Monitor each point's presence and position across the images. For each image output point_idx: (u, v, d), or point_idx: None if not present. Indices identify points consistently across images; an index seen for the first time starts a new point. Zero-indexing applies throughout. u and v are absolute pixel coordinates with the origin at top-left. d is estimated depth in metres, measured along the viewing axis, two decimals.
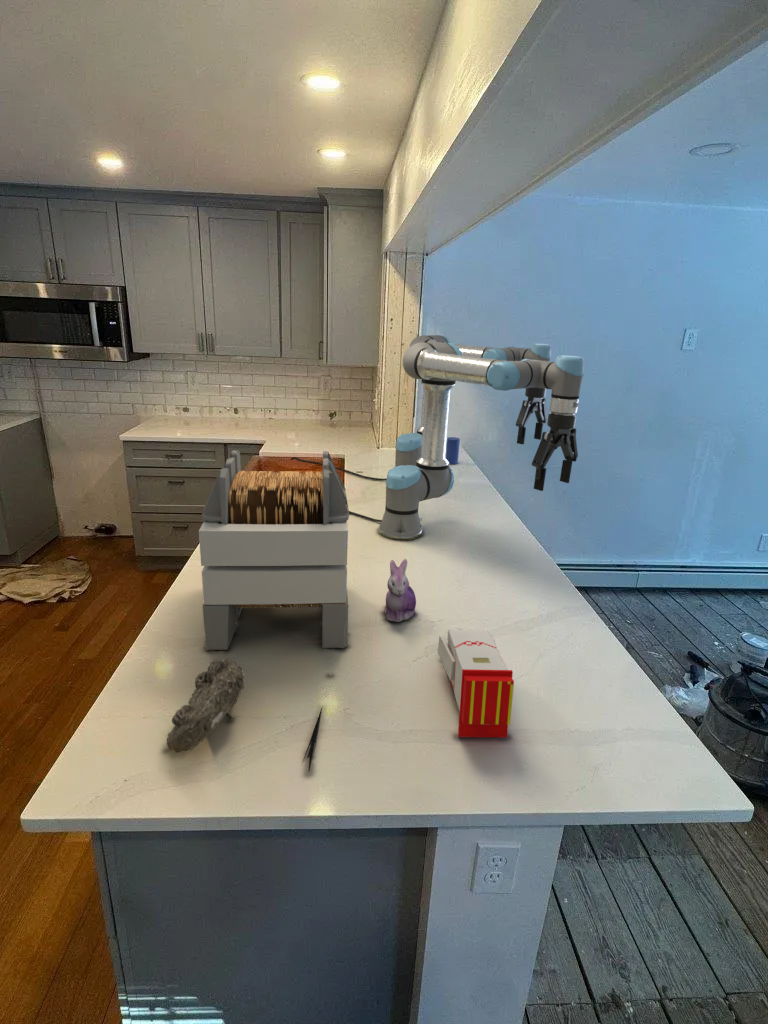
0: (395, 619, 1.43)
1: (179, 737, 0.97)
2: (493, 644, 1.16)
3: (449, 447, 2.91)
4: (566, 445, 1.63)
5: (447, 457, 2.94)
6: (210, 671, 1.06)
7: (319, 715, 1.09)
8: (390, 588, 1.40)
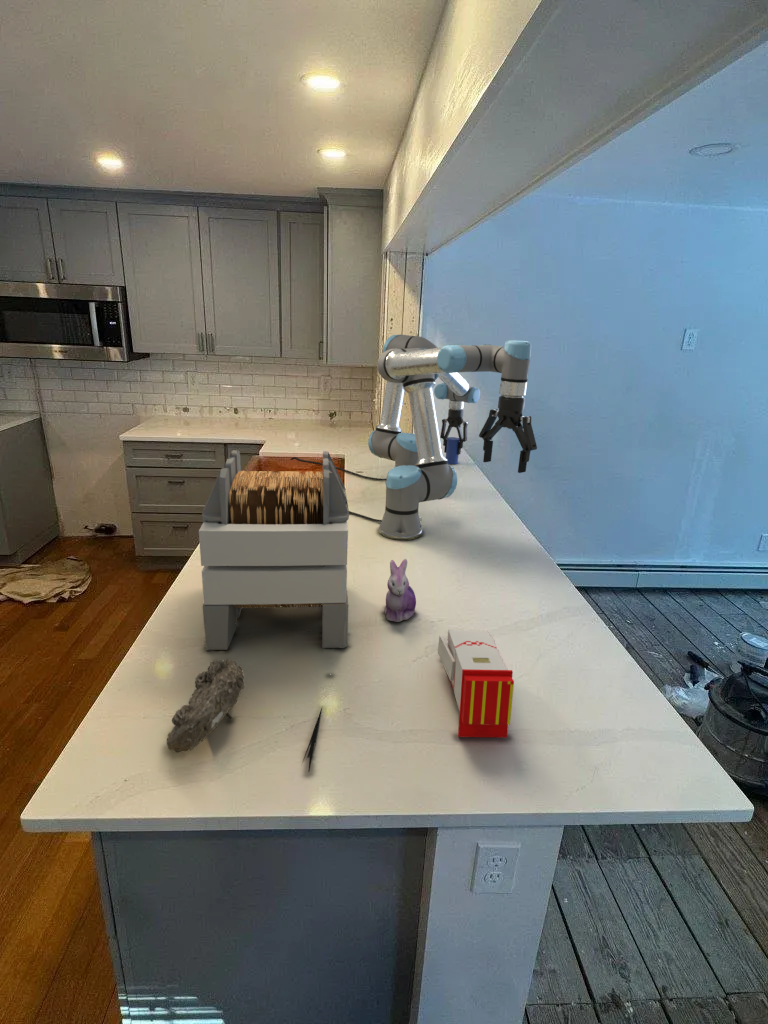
0: (395, 619, 1.43)
1: (179, 737, 0.97)
2: (493, 644, 1.16)
3: (449, 447, 2.91)
4: None
5: (447, 457, 2.94)
6: (210, 671, 1.06)
7: (319, 715, 1.09)
8: (390, 588, 1.40)
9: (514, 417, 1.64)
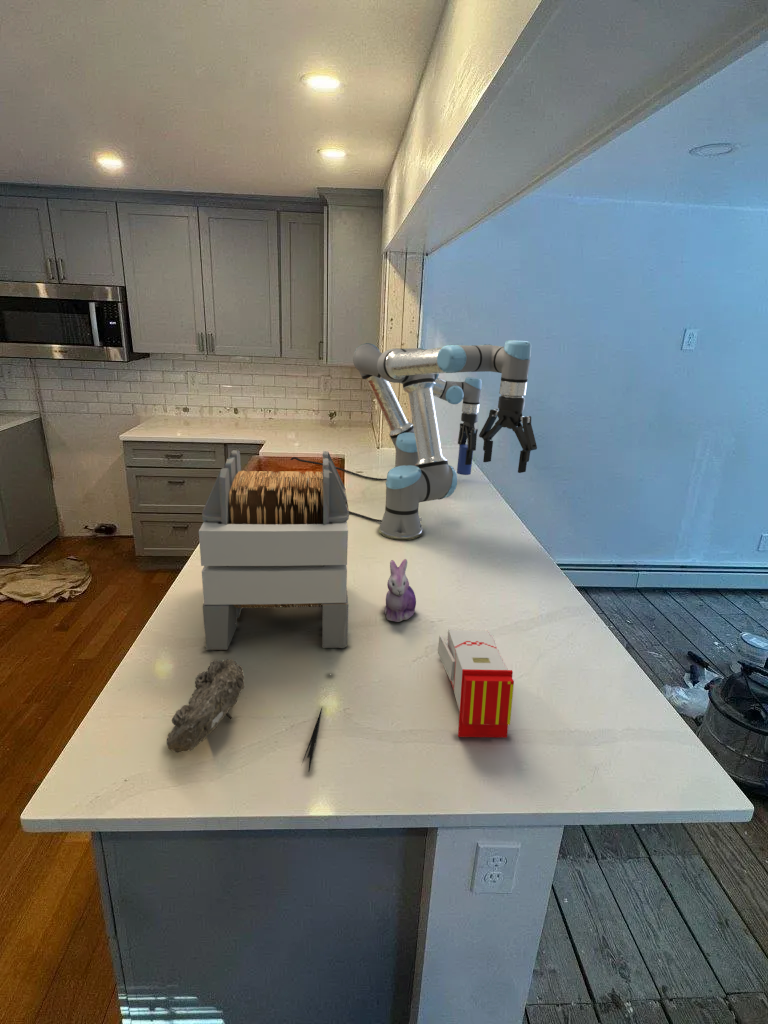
0: (395, 619, 1.43)
1: (179, 737, 0.97)
2: (493, 644, 1.16)
3: None
4: None
5: (457, 465, 2.64)
6: (210, 671, 1.06)
7: (319, 715, 1.09)
8: (390, 588, 1.40)
9: (514, 417, 1.64)
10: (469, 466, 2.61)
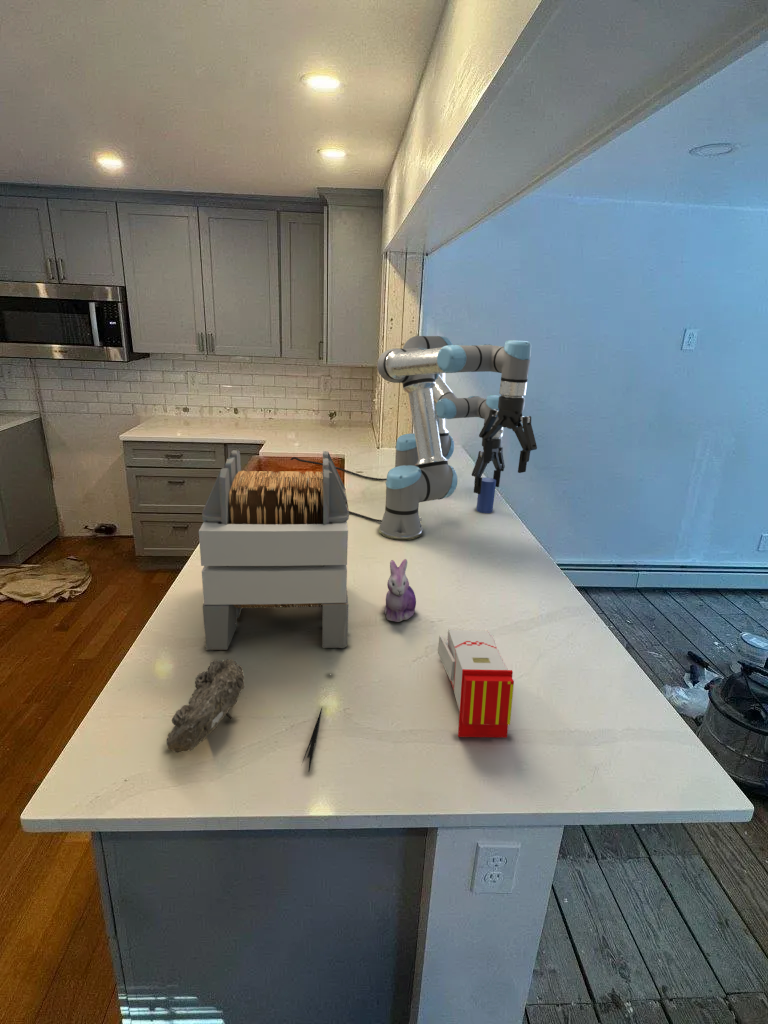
0: (395, 619, 1.43)
1: (179, 737, 0.97)
2: (493, 644, 1.16)
3: None
4: None
5: None
6: (210, 671, 1.06)
7: (319, 715, 1.09)
8: (390, 588, 1.40)
9: (514, 417, 1.64)
10: (483, 503, 2.23)
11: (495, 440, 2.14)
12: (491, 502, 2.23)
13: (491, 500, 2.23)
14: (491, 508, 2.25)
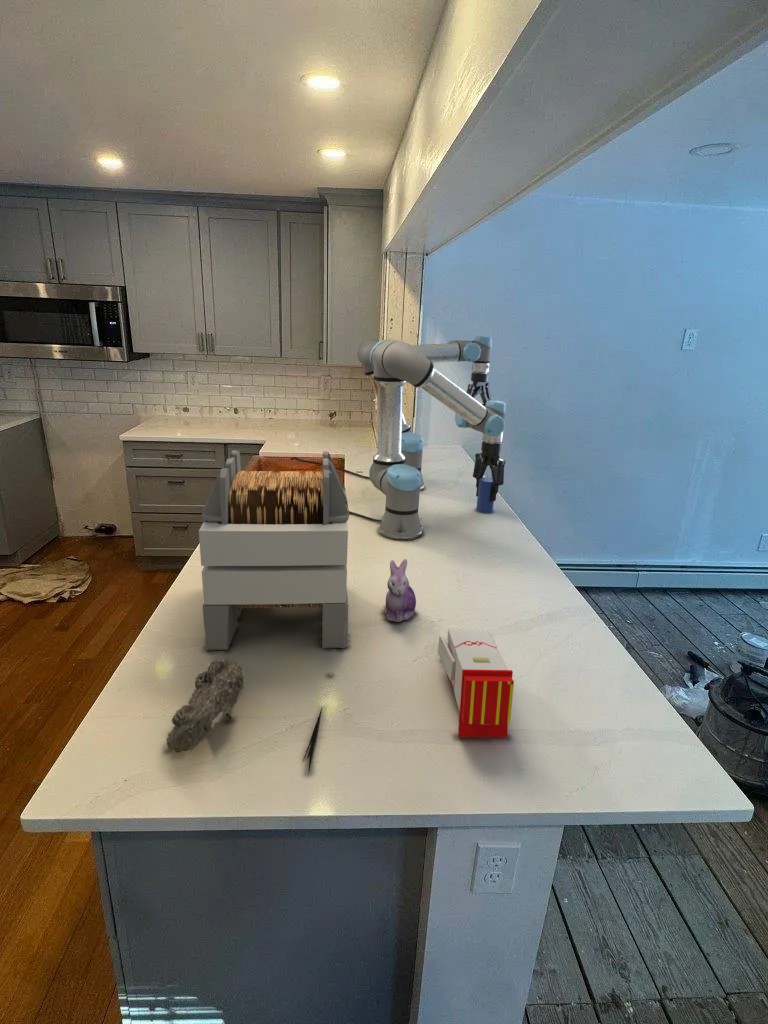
0: (395, 619, 1.43)
1: (179, 737, 0.97)
2: (493, 644, 1.16)
3: None
4: (487, 464, 2.23)
5: None
6: (210, 671, 1.06)
7: (319, 715, 1.09)
8: (390, 588, 1.40)
9: (493, 457, 2.17)
10: (483, 503, 2.23)
11: (482, 374, 2.51)
12: (491, 502, 2.23)
13: None
14: (491, 508, 2.25)
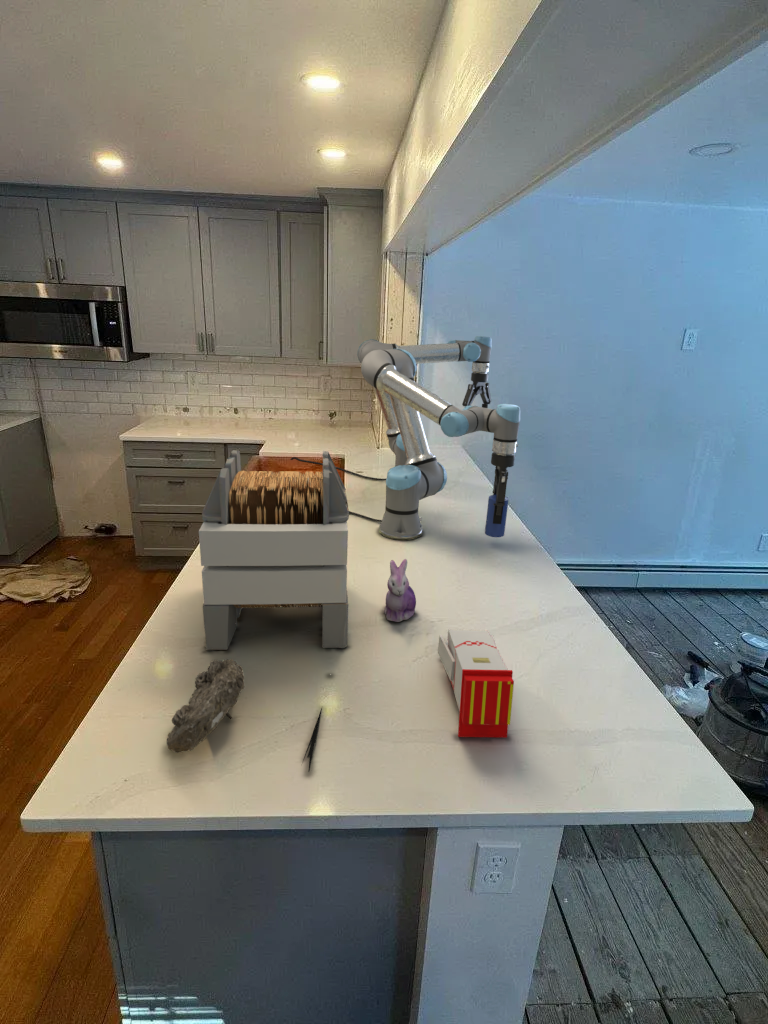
0: (395, 619, 1.43)
1: (179, 737, 0.97)
2: (493, 644, 1.16)
3: None
4: None
5: None
6: (210, 671, 1.06)
7: (319, 715, 1.09)
8: (390, 588, 1.40)
9: (499, 471, 1.83)
10: (487, 523, 1.90)
11: (482, 374, 2.51)
12: (496, 525, 1.88)
13: None
14: (496, 532, 1.89)
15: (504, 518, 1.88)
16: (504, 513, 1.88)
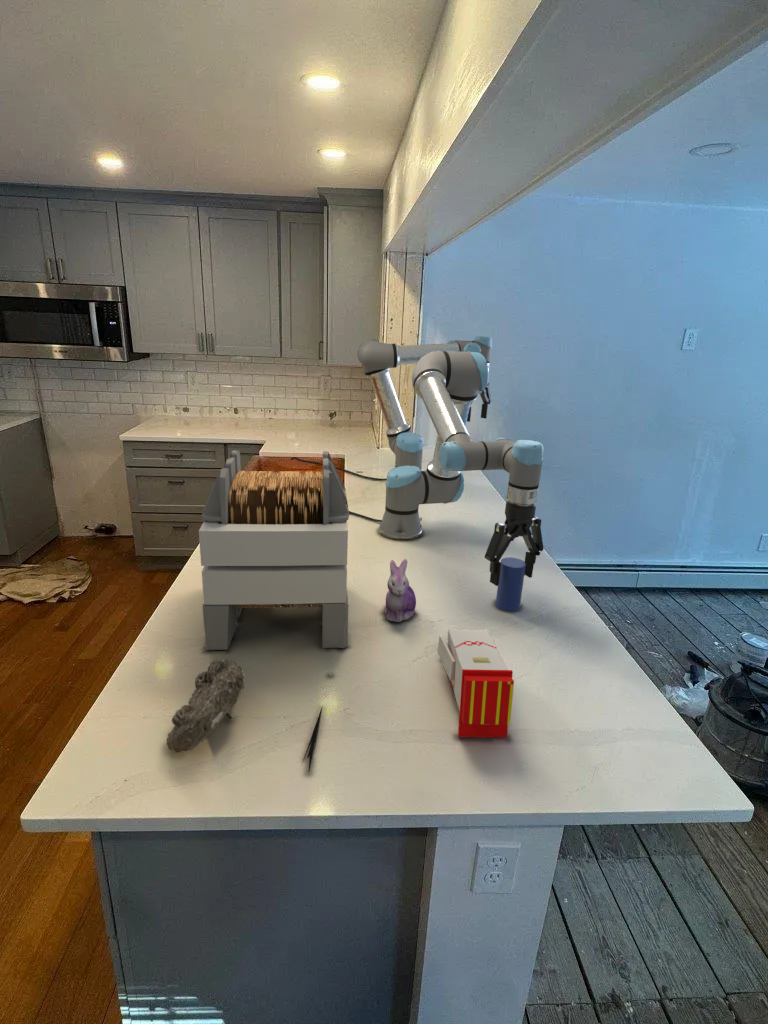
0: (395, 619, 1.43)
1: (179, 737, 0.97)
2: (493, 644, 1.16)
3: None
4: (526, 536, 1.48)
5: None
6: (210, 671, 1.06)
7: (319, 715, 1.09)
8: (390, 588, 1.40)
9: None
10: None
11: None
12: (499, 593, 1.51)
13: (500, 590, 1.51)
14: (500, 602, 1.52)
15: (510, 589, 1.49)
16: (509, 582, 1.49)
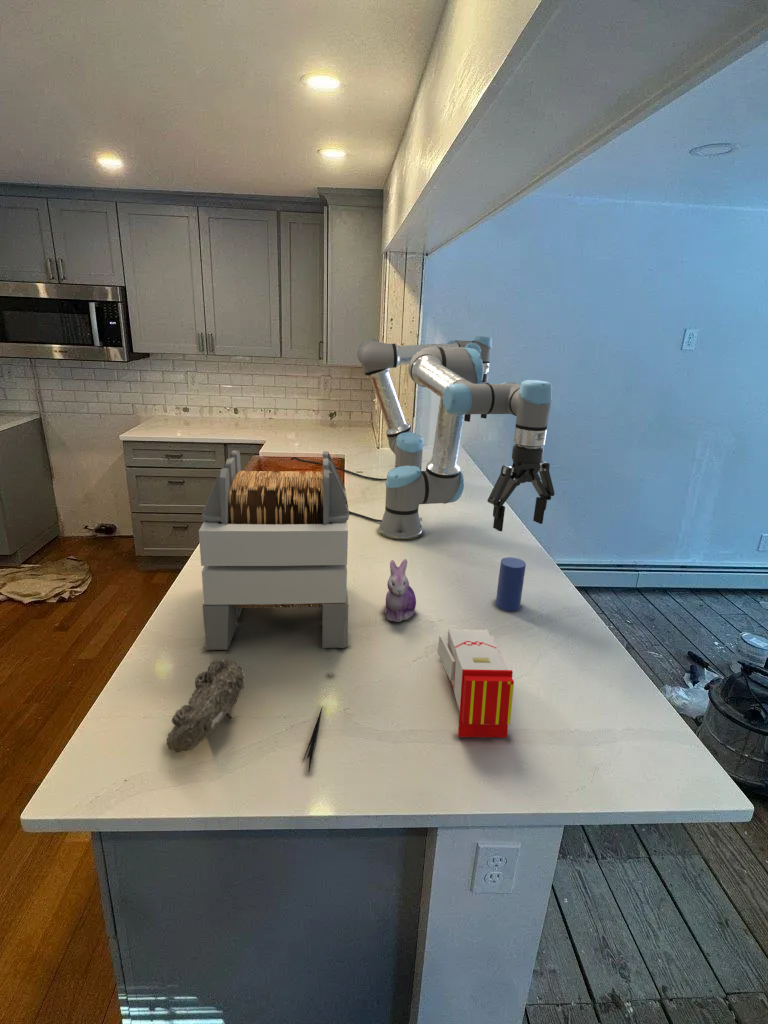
0: (395, 619, 1.43)
1: (179, 737, 0.97)
2: (493, 644, 1.16)
3: None
4: (535, 481, 1.43)
5: None
6: (210, 671, 1.06)
7: (319, 715, 1.09)
8: (390, 588, 1.40)
9: None
10: None
11: None
12: (499, 593, 1.51)
13: (500, 590, 1.51)
14: (500, 602, 1.52)
15: (510, 589, 1.49)
16: (509, 582, 1.49)
